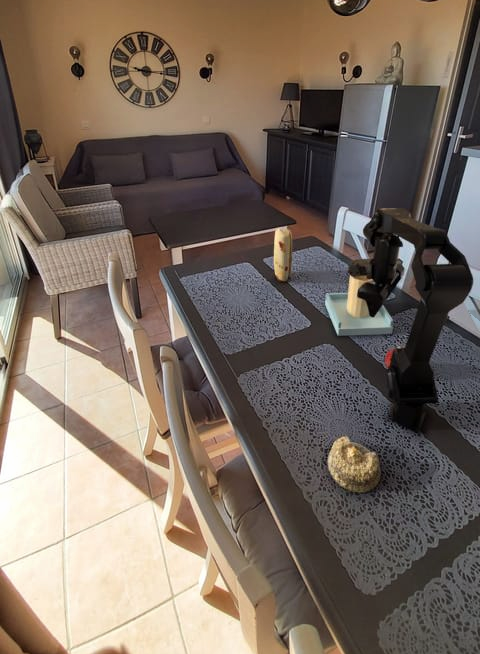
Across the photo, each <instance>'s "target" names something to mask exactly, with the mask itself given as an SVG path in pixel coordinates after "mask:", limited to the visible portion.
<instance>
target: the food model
mask: <svg viewBox="0 0 480 654" xmlns="http://www.w3.org/2000/svg"><path fill="white" fill-rule="evenodd" d="M273 244H274V245H273V267H274V268H273V269H274V274H275V277H276V279H277V281H278V282H282V283H283V282H287V281H288V278H289V279H290V278H291V276H292V271H293V270H292V269H293V233H292V232H291V230H290V229H289V228H286V227H285V228H283V227H280V228H279V227H278V228H276V229H275V231H274V241H273Z"/></svg>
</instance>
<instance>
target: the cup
mask: <svg viewBox="0 0 480 654" xmlns="http://www.w3.org/2000/svg"><path fill="white" fill-rule="evenodd" d="M366 277H367V276H356V277H352V276H351V275H350V274H349V280H348V291H347V293H348V300H347V309H346V311H347V313H348V314H349V315H350V316H352V317H355V318H365V317H367V316H368V315H369V311H368V307H367V303H366V301H365V300H363V299H360V298H358V297H357V291H358V289H359V288H360V287H361V285H362V284H364V283H366V282H368V283H372V284H374V281H373V279H371V280H370V279H366Z"/></svg>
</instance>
